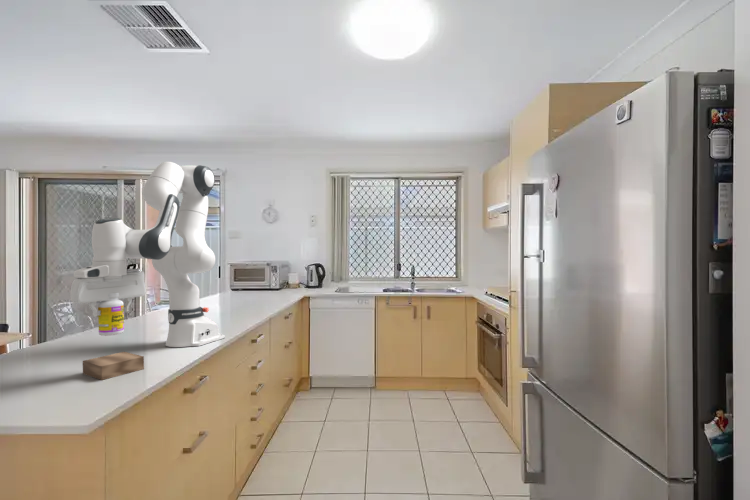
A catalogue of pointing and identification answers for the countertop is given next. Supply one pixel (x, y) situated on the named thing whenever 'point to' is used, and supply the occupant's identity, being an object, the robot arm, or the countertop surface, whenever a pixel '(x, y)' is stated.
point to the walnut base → (113, 365)
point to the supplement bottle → (111, 316)
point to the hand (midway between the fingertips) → (111, 314)
